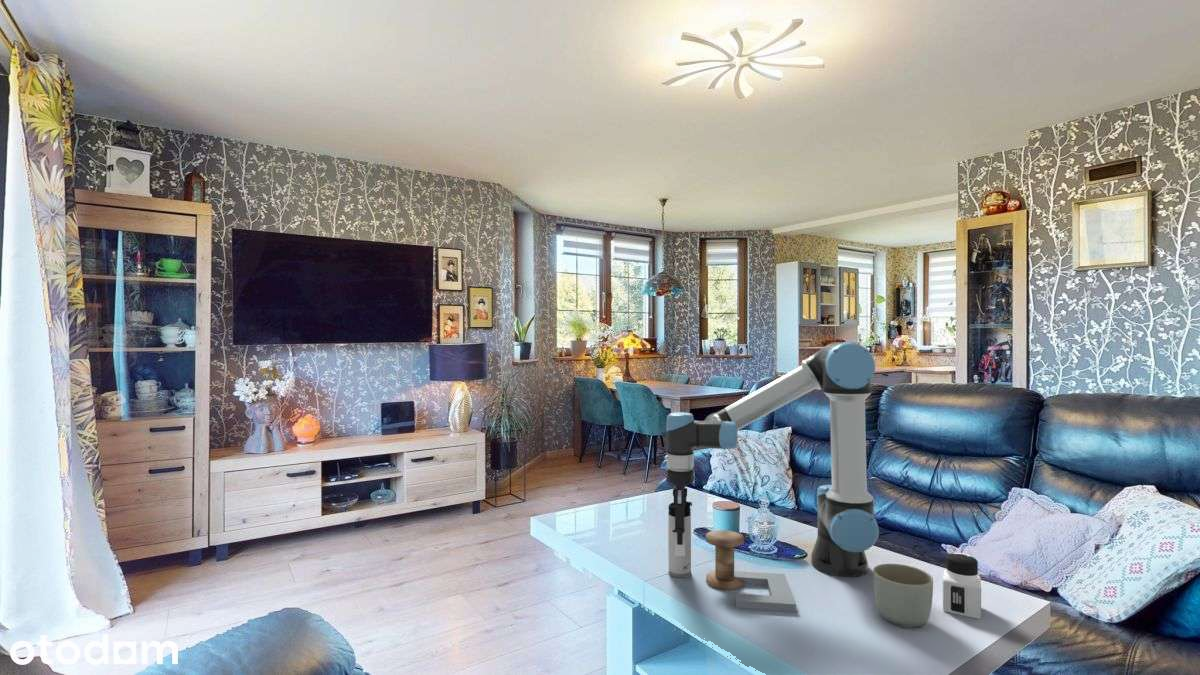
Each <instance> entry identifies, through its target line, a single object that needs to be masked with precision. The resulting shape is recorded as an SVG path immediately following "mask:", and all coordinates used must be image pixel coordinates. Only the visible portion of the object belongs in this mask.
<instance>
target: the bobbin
mask: <svg viewBox="0 0 1200 675" xmlns="http://www.w3.org/2000/svg"><path fill="white" fill-rule="evenodd" d="M744 538H745V537H744V535H743V534H741V533H739V532H737V531H732V530H727V529H726V530H724V529H719V530H718V529H717V530H711V531H708V532H706V534H705V541H706V543H708V544H709V545H711V546H714V547H715V548H714V549H715V551H714V552H715V555H714V556H715V560H714V562H715V563H714V564H715V566H714V567H715V569H714V570H712V571H709V572H707V574H706V575H705V582H706V585H708V586H709V587H711V588H714V589H717V590H721V591H736V590H740V589H741V588H743V587H744V586H745V585H744V580H734V571H735V548H737V547H741V546H742V545H744V543H745V542H744V541H745V540H744Z"/></svg>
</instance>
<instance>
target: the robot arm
mask: <svg viewBox="0 0 1200 675" xmlns="http://www.w3.org/2000/svg"><path fill="white" fill-rule="evenodd" d="M875 372H876V362H875V359H874V357H873V355H872V353H871V352H870V351H869V350H868V349H867V347H866V348H865V347H864V346H863V345H861V344H860V343H856V342H854V341H834V342H831V343H829V344H827V345H825V346H824V347H822V348H821V349H819V350H818V351H817V352H814V354H812V355H810V356H808V357H807V358H806V359H803V360H802V361H801V364H800V366H798V367H797V368H794V369H793V370H791V371H789V372H787V373H786V374H784V375H782V376H781V377H778V378H776V379H775V380H773V381H771V382H769V383H768V384H766V385H764V386H762V387H760V388H758V389H757V390H754V391H753V392H751V393H750V394H748V395H746V396H744V397H742V398H740V399H739V400H737V401H735V402H733V403H732V404H730V405H728V406H726V407H724V408H723V409H721V410H719V411H717V412H714V413H711V414H710V413H709V415H708V416H706V417H705V419H704V420H695V418H694V414H692V413H690V412H684V411H683V412H682V411H680V412H679V411H677V412H671V413H669V414H668V415H667V416H666V425H665V426H666V428H665V433H666V434H665V439H666V440H665V442H666V443H665V444H666V446H665V447H666V455H665V456H664V460H666V467H667V468H666V482H667V483H668V484H670V485H674V486H675V487H672V496H673V502H674V506H675V530H673V532H675V556H685V529H684V507H685V506H686V501H687V497H688V487H686V486H687V485H691V484H693V483H694V480H695V478H694V474H695V473H694V470H693V468H694V465H695V462H694V461H695V460H694V457H695V456H694V455H695V453H694V448H695V449H715V450H716V449H719V450H733V449H736V448H737V447H738V431H739V430H740V429H743V428H745V427H747V426H748V425H750V424H752V423H754V422H756V421H758V420H760V419H761V418H763V417H765V416H767V415H769V414H770V413H772V412H774V411H776V410H778V409H781V408H782V407H784V406H786V405H787V404H789V403H791V402H794V401H795V400H797V399H799V398H800V397H802V396H804V395H806V394H808V393H810V392H812V391H813V390H819V391H820V390H823V394H824V395H825V396H826V397H827V398H828V399H829V418H830V419H829V421H830V422H829V423H830V428H829V429H830V464H831V466H830V467H831V470H830V472H831V475H830V476H831V484H825V485H824V484H823V485H820V486H818V488H817V494H816V499H817V502H816V503H817V505H816V506H817V508H816V509H817V537H816V541H815V543H814V546H813V548H812V552H811V555H810V559H811V560H810V563H811V566H813V567H814V568H815V569H816V570H819V571H821V572H824V573H826V574H830V575H834V576H838V577H858V576H859V577H860V576H863V575H865V574H867V573H868V571H869V562H868V558H867V556H866V553H865V551H867V550H870V548H872V547H874V545H875V544H876V543H877V541H878V538H879V533H880V530H879V526H878V525H879V524H878V522H877V520H876V518H875V511H874V509H875V508H874V506H875V505H874V503H875V502H874V496H873V495H872V494H870V492H869V491H868V486H867V482H868V481H867V480H868V479H867V476H868V475H867V439H866V438H867V437H866V435H867V434H866V433H867V432H866V399H867V398H868V397H869V396H871V394H872V379H873V377H874V376H875Z"/></svg>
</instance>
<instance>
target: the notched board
mask: <svg viewBox="0 0 1200 675" xmlns="http://www.w3.org/2000/svg"><path fill="white" fill-rule="evenodd" d="M734 580H744V586H753V587H756V586H757V587H767V590H768V593H769V595H767V594H756V593H755V594H753V593H741V592H740V593H739V592H737V593H736V592H735V593H734V602H735V609H737V610H738V609H740V610H750V611H751V610H753V611H764V612H765V611H766V612H767V611H768V612H779V613H780V612H781V613H794V614H795V613H797V603H796V601H795V598H794V595H793V593H792V590H791V587H790V585H789V583H788V580H787V577H786V574H785V573H777V572H776V573H774V572H759V571H757V572H756V571H742V570H734Z"/></svg>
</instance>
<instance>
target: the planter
mask: <svg viewBox="0 0 1200 675" xmlns="http://www.w3.org/2000/svg"><path fill="white" fill-rule="evenodd" d="M872 573H873V589H874V599H875V605H876V608H877V611H878V612H879V614H880V615H881V616H882V617H883V618H884V619H885V620H887V621H888V622H890V623H892V624H893V625H896V626H899V627H902V628H917V627H920V626H923V625H925V624H926V623H927V622H928V621H929V619H930V617H931V612H932V605H933V594H934V592H933V591H934V578H933V576H932V575H931V574H930V573H929V572H926V571H925V570H922V569H920V568H917V567H914V566H910V565H906V564H899V563H883V564H877V565H876V566H875V567H874V568H873V572H872Z"/></svg>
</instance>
